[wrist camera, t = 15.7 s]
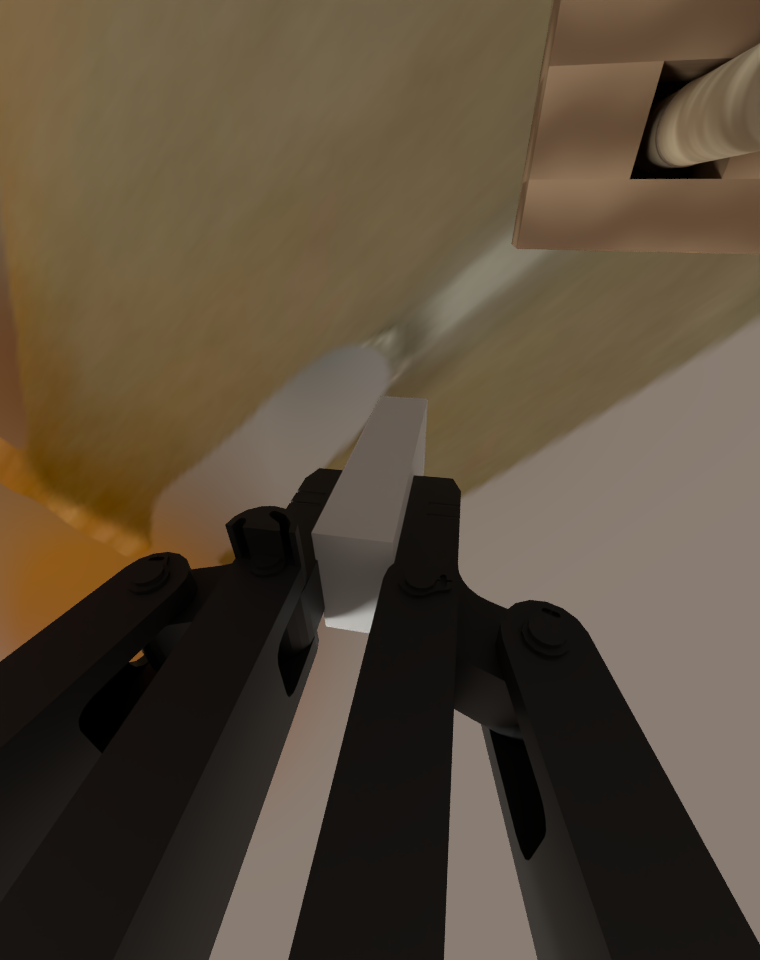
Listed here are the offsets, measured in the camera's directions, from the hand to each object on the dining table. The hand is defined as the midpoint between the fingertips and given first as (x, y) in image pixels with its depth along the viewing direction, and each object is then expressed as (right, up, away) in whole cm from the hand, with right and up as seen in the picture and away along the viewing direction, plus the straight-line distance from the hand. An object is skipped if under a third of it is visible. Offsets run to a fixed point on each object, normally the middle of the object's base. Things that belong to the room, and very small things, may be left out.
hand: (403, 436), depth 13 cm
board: (+17, +20, +12) cm, 29 cm away
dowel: (+17, +20, +12) cm, 29 cm away
